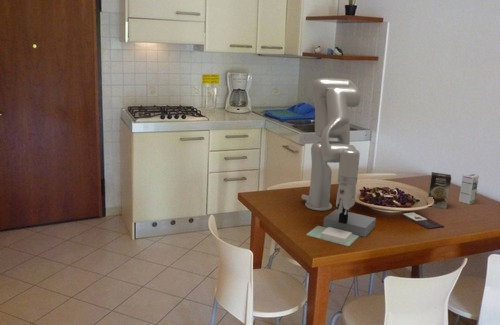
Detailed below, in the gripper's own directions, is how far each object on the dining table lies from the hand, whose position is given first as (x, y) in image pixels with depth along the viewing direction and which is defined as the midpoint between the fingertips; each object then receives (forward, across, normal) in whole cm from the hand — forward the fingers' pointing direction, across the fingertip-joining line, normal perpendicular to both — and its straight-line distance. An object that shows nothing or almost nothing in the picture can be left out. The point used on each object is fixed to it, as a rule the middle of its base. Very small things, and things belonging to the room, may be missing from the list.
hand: (342, 222), depth 197 cm
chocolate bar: (+5, +37, -24) cm, 44 cm away
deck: (+5, +9, 0) cm, 10 cm away
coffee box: (+5, +64, -25) cm, 69 cm away
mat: (+5, -5, +2) cm, 7 cm away
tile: (+2, -6, 0) cm, 7 cm away
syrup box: (+5, +81, -37) cm, 89 cm away
